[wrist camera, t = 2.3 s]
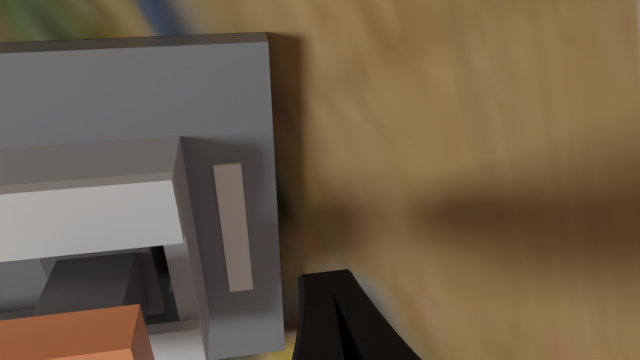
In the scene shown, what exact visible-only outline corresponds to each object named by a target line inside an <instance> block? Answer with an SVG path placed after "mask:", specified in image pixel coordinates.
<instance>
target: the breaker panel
mask: <svg viewBox="0 0 640 360" xmlns="http://www.w3.org/2000/svg"><path fill="white" fill-rule="evenodd" d="M161 245H163V246H164V251H165V255H166V260H167V264H168V269H169V274H170V285H169V292H168V299H167V306H166V313H161V314H153V315H147V319H146V325H145V326H146V329H147V333H148V337H149V340H150V344H151V348H152V351H153V355H154V359H155V360H216V359H223V358H230V357H237V356H245V355H252V354H259V353H266V352H274V351H281V350H285V340H284V321H283V303H282V285H281V266H280V248H279V229H278V211H277V193H276V174H275V156H274V137H273V119H272V101H271V82H270V64H269V46H268V39H267V36H266V32H258V33H233V34H208V35H184V36H159V37H135V38H110V39H86V40H61V41H37V42H12V43H0V321H2V320H10V319H18V318H27V317H31V315H32V313H33V311H34V309H35V307H36V304H37V302H38V300H39V298H40V296H41V293H42V291H43V289H44V287H45V285H46V282H47V277H46V275H45V272H44V270H43V267H42V265H41V262H40V260H39V258H44V257H54V256H64V255H73V254H83V253H93V252H102V251H112V250H122V249H132V248H141V247H151V246H161Z"/></svg>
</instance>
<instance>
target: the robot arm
mask: <svg viewBox="0 0 640 360" xmlns="http://www.w3.org/2000/svg"><path fill="white" fill-rule="evenodd" d="M298 301H299V320H298V328H297V335H296V342H295V347H294V352H293V357H292V360H421V358H420V357H419V356H418V355H417V354H416V353H415V352H414V351H413V350H412V349H411V348H410V347H409V346H408V345H407V344H406V343H405V342H404V340H403V339H402V338H401V337H400V336H399V335H398V334H397V332H396V331H395V330H394V329H393V328H392V326H391V325H390V324H389V323H388V322H387V320H386V319H385V318H384V317H383V316H382V314H381V313H380V312H379V311H378V309H377V308H376V307H375V306H374V304H373V303H372V302H371V300H370V299H369V298H368V296H367V295H366V293H365V292H364V291H363V289H362V288H361V286H360V285H359V283H358V282H357V280H356V279H355V277H354V276H353V274H352V273H351V272H350V271H349V270H348V269H345V270H337V271H328V272H319V273H311V274H302V275H301V276H300V277H299V278H298Z"/></svg>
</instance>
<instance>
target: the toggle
mask: <svg viewBox="0 0 640 360" xmlns="http://www.w3.org/2000/svg"><path fill="white" fill-rule="evenodd" d="M39 260H40V262H41V265H42V267H43V270H44V272H45V275H46V277H47V282H46V285H45V287H44V289H43V291H42V293H41V296H40V298H39V300H38V302H37V304H36V307H35V309H34V311H33V313H32V315H31V317H27V318H18V319H10V320H2V321H0V360H155V359H154V355H153V351H152V348H151V344H150V340H149V337H148V333H147V329H146V326H145V325H146V319H147V315H153V314H161V313H166V306H167V299H168V292H169V285H170V274H169V269H168V264H167V260H166V255H165V251H164V246H163V245H161V246H151V247H141V248H132V249H122V250H112V251H102V252H93V253H83V254H73V255H64V256H54V257H44V258H39Z"/></svg>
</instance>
